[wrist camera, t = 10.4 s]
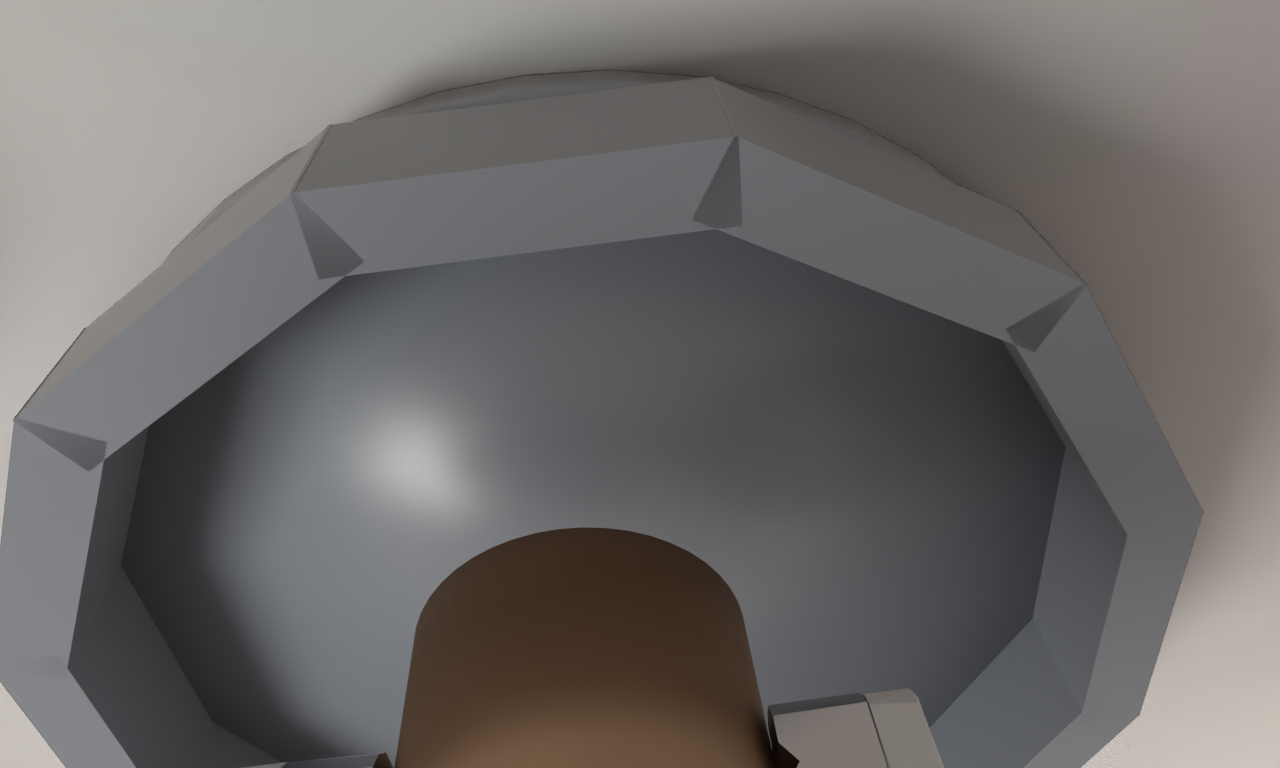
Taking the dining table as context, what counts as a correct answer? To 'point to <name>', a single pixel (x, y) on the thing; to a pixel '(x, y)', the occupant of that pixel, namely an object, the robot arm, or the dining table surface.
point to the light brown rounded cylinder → (583, 661)
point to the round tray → (590, 430)
